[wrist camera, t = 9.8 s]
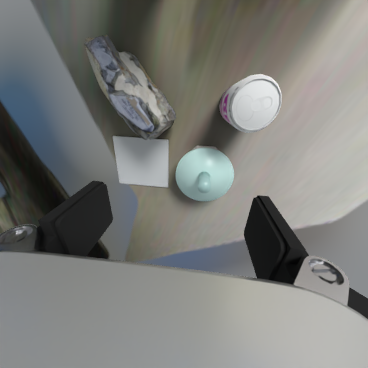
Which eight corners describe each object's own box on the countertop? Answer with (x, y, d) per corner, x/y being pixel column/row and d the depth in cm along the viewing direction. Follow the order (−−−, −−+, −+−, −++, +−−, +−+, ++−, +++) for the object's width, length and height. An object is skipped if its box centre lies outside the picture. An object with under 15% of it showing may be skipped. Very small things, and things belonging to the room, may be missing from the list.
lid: (176, 145, 38) (172, 152, 32) (238, 149, 37) (245, 158, 31) (175, 197, 44) (171, 211, 38) (228, 202, 43) (231, 217, 37)
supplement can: (222, 127, 40) (231, 139, 27) (216, 89, 37) (224, 82, 23) (257, 118, 38) (285, 127, 25) (254, 78, 35) (286, 63, 22)
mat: (113, 135, 44) (112, 136, 43) (168, 139, 43) (168, 139, 42) (120, 182, 50) (119, 183, 50) (168, 186, 49) (168, 187, 49)
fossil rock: (113, 71, 40) (59, 33, 26) (143, 46, 38) (103, -12, 24) (155, 145, 43) (127, 146, 29) (185, 126, 41) (172, 117, 27)
